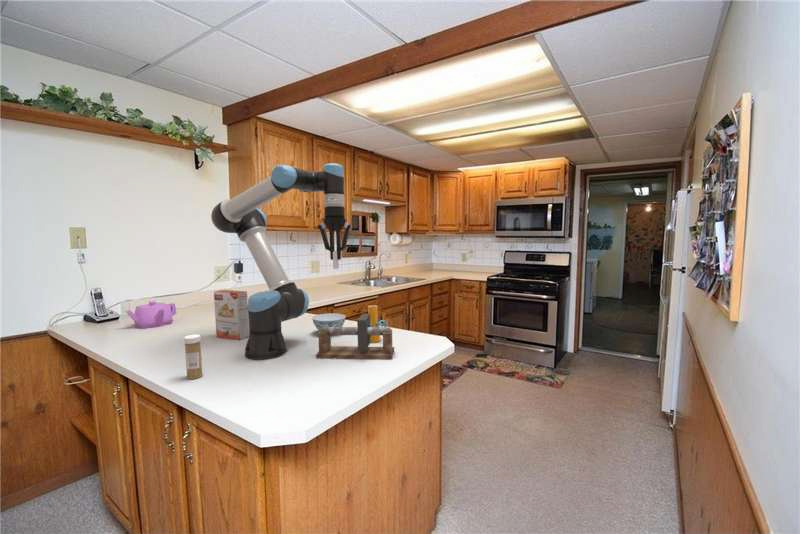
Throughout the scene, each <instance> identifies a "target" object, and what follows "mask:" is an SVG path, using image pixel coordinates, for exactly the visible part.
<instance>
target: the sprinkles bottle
mask: <svg viewBox="0 0 800 534" xmlns="http://www.w3.org/2000/svg"><path fill="white" fill-rule="evenodd" d="M201 340H202V339H201V335H200V334H189V335H186V336H184V337H183V343H184V348H185V350H184V351H185V354H184V355H185V366H186V367H185V368H186V378H187V379H189V380H195V379H199V378H202V377H203V361H202V351H201V350H202V349H201Z"/></svg>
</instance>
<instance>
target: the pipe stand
mask: <svg viewBox="0 0 800 534" xmlns="http://www.w3.org/2000/svg"><path fill="white" fill-rule="evenodd" d="M317 334H318V352H316V354H315V359H325V358H327V359H329V358H330V359H331V360H332V359H334V358H336V359H335V360H337V359H338V360H339V359H340V360H391V359H393V356H394V352H395V347H394V346H393V329H392V328H391V327H389V326H388V327H387V326H386V327H384V326H383V327H381V326H379V327H367V336H368V335H380V336H382V346H368V347H367V349H366V350H358V345H357V346H352V345H349V346H348V345H347V346H345V345H343V346H342V345H341V346H339V345H336V346H335V345H332V341H331V339H332V338H331V337H332V336H358V327H357V326H342V327H321V331H319V332H318V333H317Z"/></svg>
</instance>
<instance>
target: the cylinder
mask: <svg viewBox="0 0 800 534" xmlns="http://www.w3.org/2000/svg"><path fill="white" fill-rule="evenodd" d="M378 308H379V307H378V305H376V304H373V305H368V306H367V314H370V327H387V326H388V324H387V323H388V322H387V321H386V320H384V319H380V320H379V319H378V318H379V316H378V315H379V313H378V310H379V309H378ZM382 323H384V326H383V324H382ZM379 342H381V335H371V342H370V343H379Z"/></svg>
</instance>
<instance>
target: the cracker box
mask: <svg viewBox="0 0 800 534" xmlns="http://www.w3.org/2000/svg"><path fill="white" fill-rule="evenodd" d="M213 302H214V316H215V318H214V320H215V336H216V337H217V338H225V339H230V340H236V339H237V341H241V340H244V339H247V338H249V319H248V308H247V307H248V291H246V290H245V291H244V290H233V289H232V290H230V289H220V290H216V291H213ZM246 337H247V338H246ZM243 338H244V339H243Z"/></svg>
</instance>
